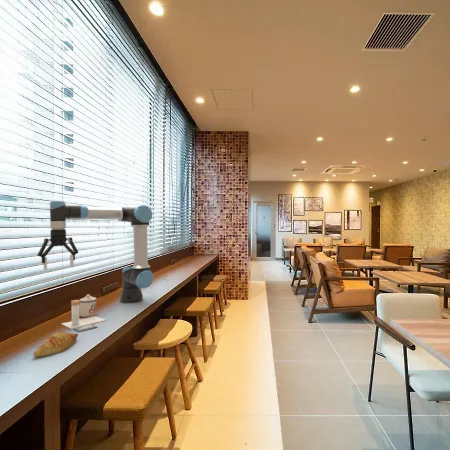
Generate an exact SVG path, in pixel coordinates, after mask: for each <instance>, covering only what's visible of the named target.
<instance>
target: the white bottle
mask: <svg viewBox="0 0 450 450" xmlns="http://www.w3.org/2000/svg"><path fill="white" fill-rule="evenodd" d="M70 301H71V304H70V305H71V321H72V326H77V325H79V319H80V299H74V300H73V299H72V300H70Z"/></svg>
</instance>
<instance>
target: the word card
mask: <svg viewBox="0 0 450 450" xmlns="http://www.w3.org/2000/svg"><path fill="white" fill-rule="evenodd" d="M97 328H98V326H97V325H96V324H90V325H85V326H81V327H77V328H73V331H75V332H77V333H83V332H85V331H88V330H89V331H90V330H94V329H97Z"/></svg>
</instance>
